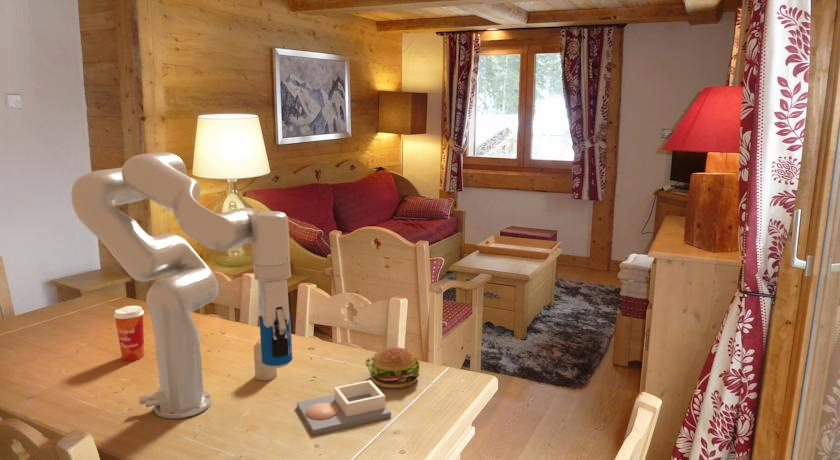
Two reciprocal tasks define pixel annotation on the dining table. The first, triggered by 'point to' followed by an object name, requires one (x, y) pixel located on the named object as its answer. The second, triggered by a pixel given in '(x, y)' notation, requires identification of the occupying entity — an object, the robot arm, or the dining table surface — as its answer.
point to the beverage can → (267, 346)
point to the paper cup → (130, 332)
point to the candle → (262, 365)
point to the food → (393, 367)
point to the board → (345, 407)
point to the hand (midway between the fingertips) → (276, 349)
